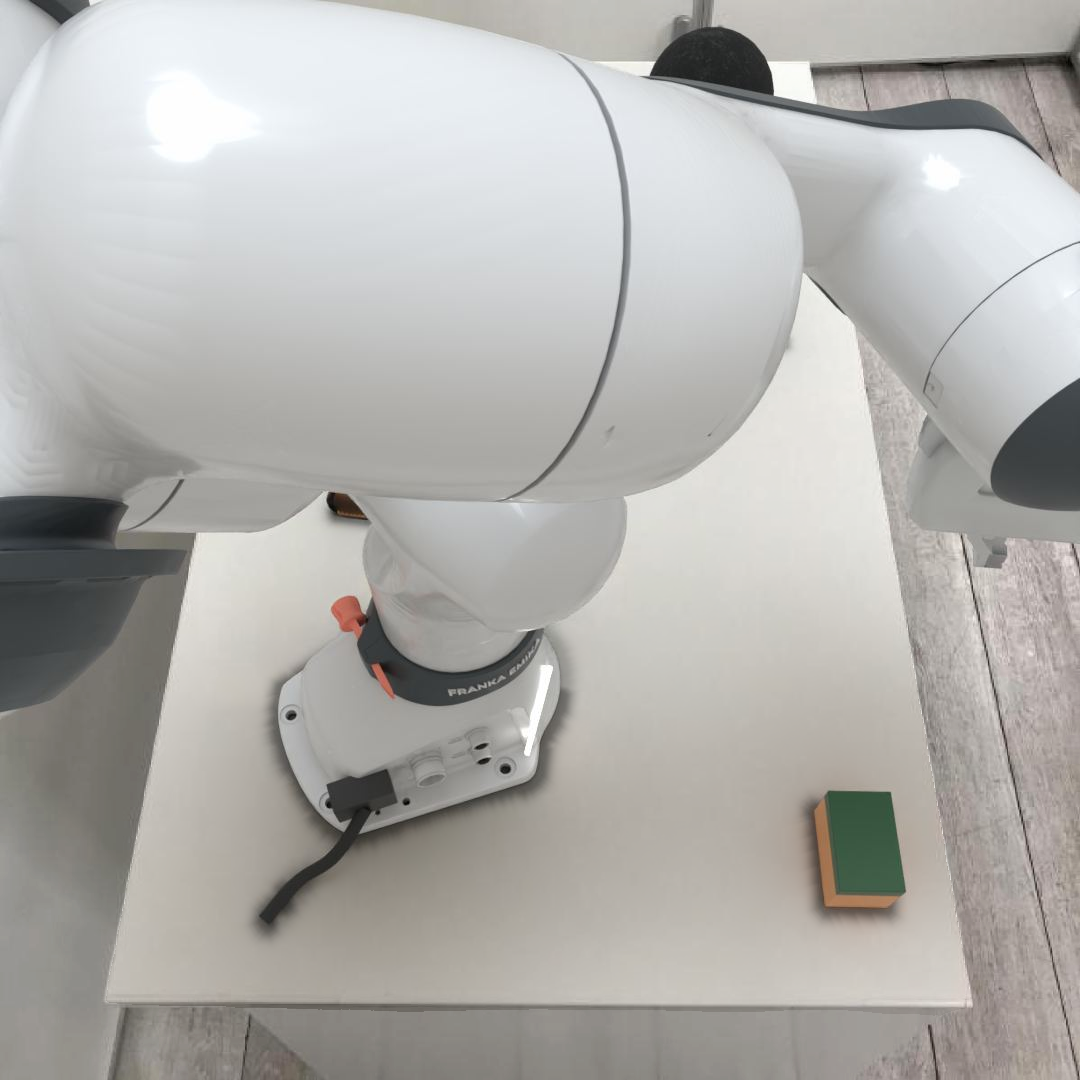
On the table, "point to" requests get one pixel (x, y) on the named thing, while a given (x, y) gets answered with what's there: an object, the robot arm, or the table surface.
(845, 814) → the sponge
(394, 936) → the table surface
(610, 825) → the table surface
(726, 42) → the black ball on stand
